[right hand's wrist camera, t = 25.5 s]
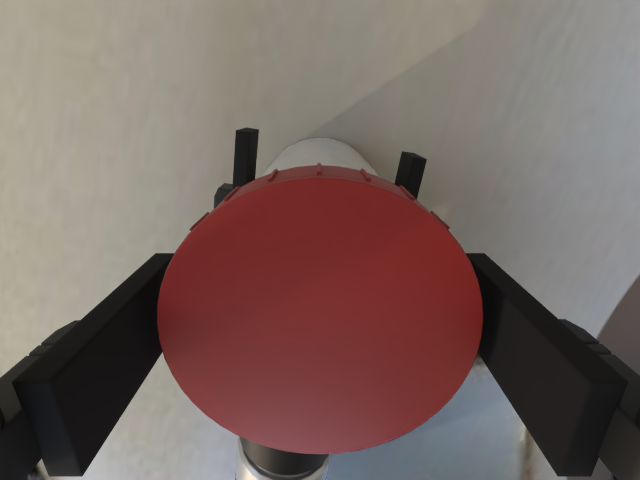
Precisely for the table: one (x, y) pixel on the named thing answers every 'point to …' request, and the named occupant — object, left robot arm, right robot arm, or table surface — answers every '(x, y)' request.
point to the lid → (320, 311)
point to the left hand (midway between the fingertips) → (331, 142)
